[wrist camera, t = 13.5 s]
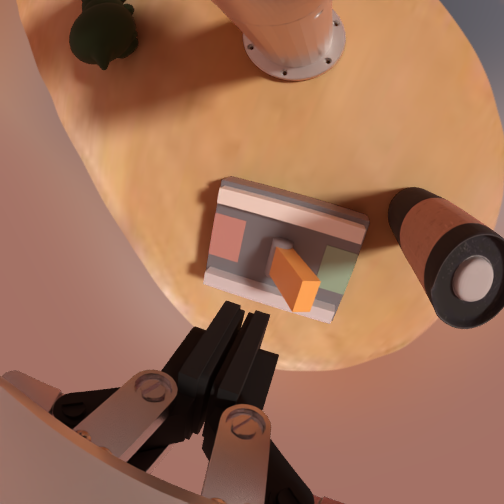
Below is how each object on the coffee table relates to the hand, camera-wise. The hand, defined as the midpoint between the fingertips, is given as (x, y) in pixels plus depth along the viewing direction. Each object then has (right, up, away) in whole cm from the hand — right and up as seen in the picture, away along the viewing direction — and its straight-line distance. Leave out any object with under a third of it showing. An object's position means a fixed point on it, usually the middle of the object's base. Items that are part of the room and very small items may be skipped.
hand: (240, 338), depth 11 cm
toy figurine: (-20, +40, +23) cm, 50 cm away
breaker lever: (+3, +3, +26) cm, 26 cm away
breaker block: (+5, +4, +29) cm, 30 cm away
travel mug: (+21, +8, +24) cm, 33 cm away
